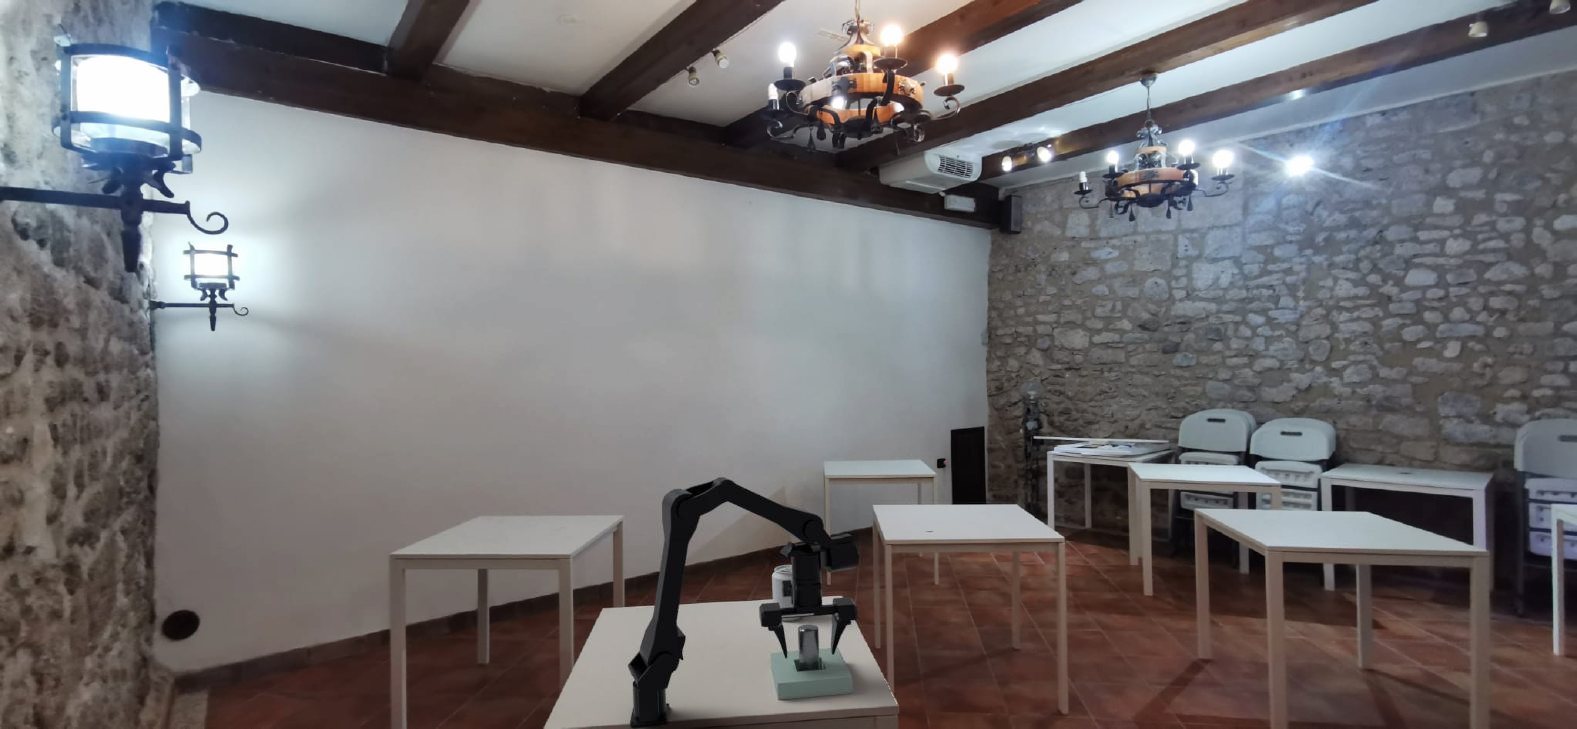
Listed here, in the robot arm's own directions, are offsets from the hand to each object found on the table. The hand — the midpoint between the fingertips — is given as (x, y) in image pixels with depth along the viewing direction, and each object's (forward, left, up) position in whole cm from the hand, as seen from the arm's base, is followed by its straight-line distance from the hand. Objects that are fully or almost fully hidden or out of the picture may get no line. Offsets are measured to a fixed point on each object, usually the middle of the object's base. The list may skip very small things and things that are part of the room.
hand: (809, 655), depth 138 cm
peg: (0, 0, -5) cm, 5 cm away
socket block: (0, 0, -5) cm, 5 cm away
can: (+35, 0, -5) cm, 35 cm away
